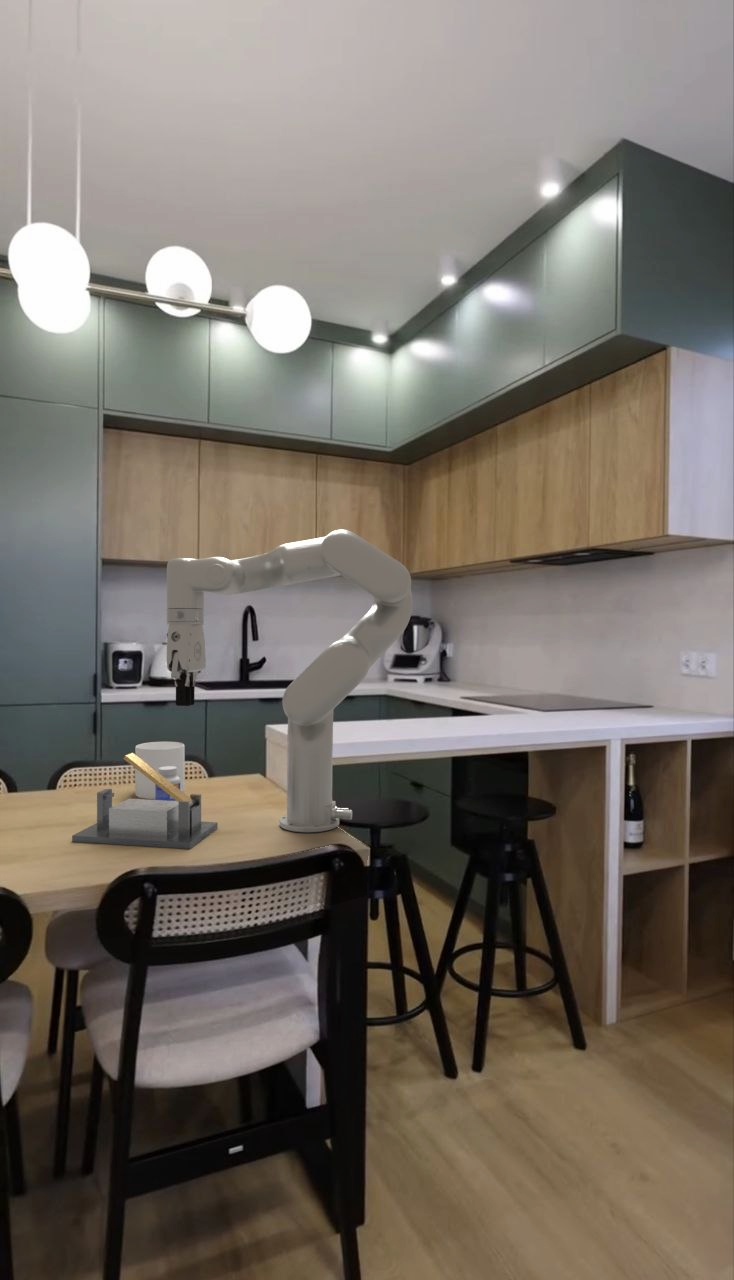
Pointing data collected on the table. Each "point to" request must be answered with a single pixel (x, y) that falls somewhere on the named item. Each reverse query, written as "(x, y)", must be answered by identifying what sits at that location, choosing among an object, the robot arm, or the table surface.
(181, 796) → the strap
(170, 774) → the pill bottle
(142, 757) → the cup
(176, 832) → the base
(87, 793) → the table surface
